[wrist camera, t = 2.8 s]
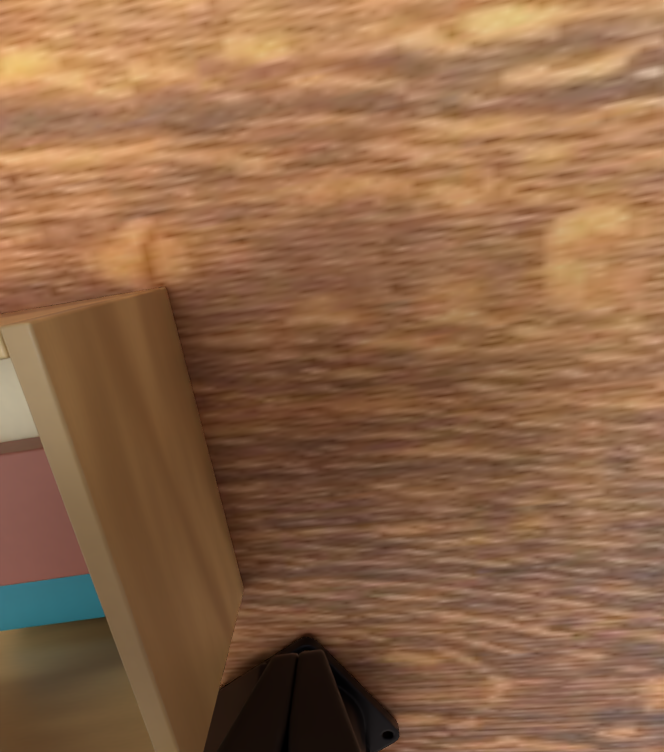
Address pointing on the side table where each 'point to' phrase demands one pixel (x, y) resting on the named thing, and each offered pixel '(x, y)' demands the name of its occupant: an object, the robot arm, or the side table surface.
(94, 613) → the panel
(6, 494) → the packet
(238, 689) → the robot arm
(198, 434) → the wooden box
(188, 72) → the side table surface
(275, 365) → the side table surface
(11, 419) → the packet
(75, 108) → the side table surface
